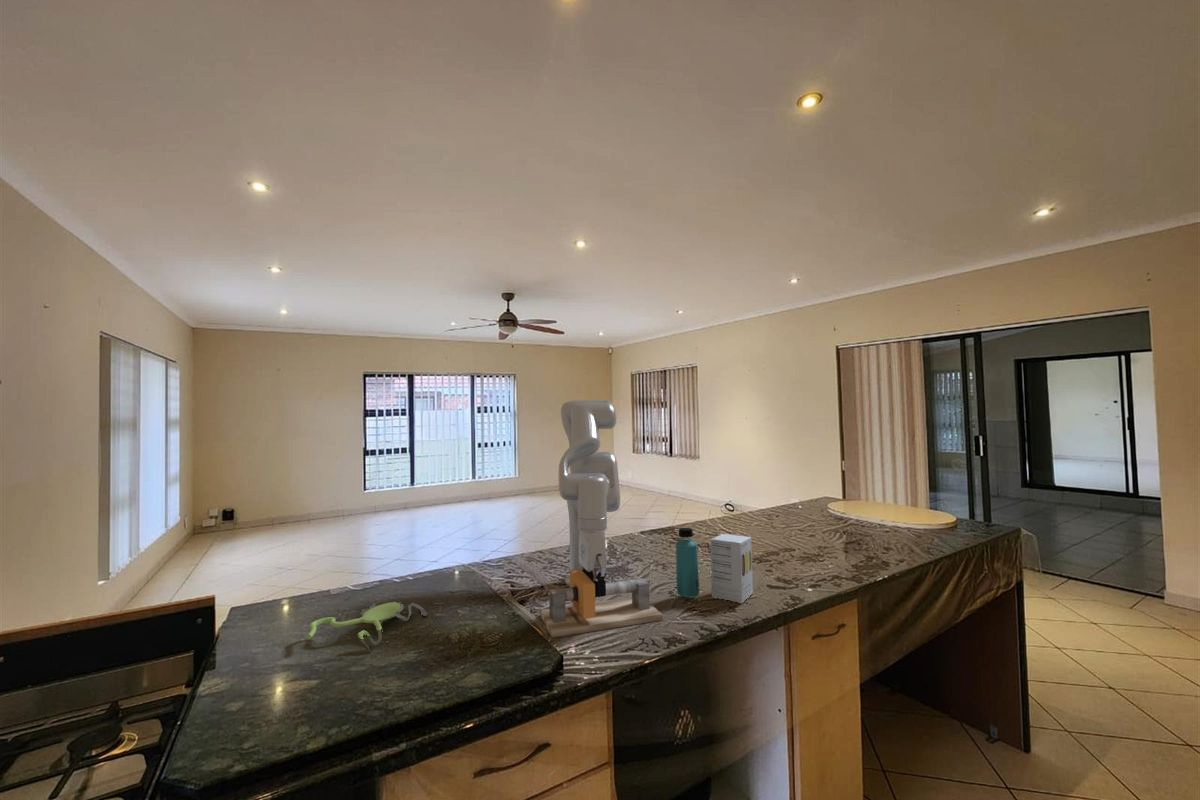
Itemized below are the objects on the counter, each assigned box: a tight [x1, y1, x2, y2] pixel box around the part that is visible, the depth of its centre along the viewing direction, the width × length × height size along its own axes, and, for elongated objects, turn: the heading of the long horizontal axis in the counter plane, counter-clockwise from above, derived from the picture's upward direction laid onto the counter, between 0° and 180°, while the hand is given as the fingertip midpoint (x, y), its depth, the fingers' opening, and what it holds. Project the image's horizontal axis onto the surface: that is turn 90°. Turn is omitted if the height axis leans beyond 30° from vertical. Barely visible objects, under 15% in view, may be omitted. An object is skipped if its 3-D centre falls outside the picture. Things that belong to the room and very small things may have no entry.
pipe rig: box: [539, 577, 663, 639], centre depth 120 cm, size 14×29×9 cm, turn 108°
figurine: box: [306, 601, 400, 641], centre depth 115 cm, size 18×27×6 cm
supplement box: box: [709, 533, 754, 604], centre depth 134 cm, size 10×9×17 cm
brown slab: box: [569, 569, 596, 619], centre depth 119 cm, size 13×3×8 cm, turn 18°
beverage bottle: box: [675, 527, 700, 598], centre depth 133 cm, size 6×7×20 cm
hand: (593, 590), depth 120 cm, fingers open, 9 cm apart
